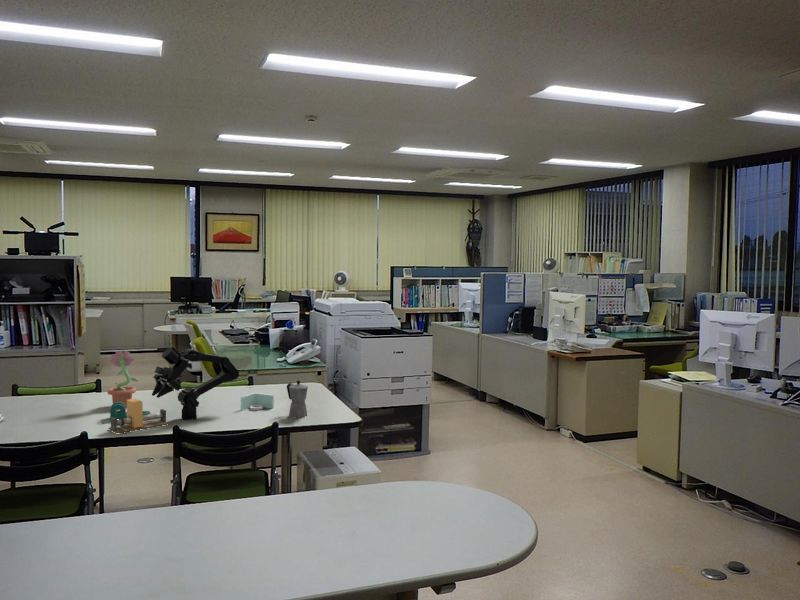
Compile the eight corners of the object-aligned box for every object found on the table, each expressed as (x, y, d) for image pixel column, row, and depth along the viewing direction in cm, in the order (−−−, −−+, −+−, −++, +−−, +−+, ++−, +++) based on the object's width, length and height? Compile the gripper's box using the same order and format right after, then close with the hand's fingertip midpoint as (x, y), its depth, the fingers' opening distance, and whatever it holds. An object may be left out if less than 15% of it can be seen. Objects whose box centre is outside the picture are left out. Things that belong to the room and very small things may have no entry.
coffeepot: (313, 416, 318) (314, 381, 317) (299, 419, 311) (299, 384, 309) (294, 410, 328) (294, 376, 327) (279, 414, 321) (280, 379, 320)
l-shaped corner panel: (240, 411, 327) (240, 397, 327) (255, 406, 338) (255, 392, 338) (259, 414, 322) (259, 399, 322) (273, 409, 333) (273, 395, 332)
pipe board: (159, 420, 304) (159, 407, 304) (169, 425, 297) (169, 411, 297) (108, 430, 287) (108, 416, 287) (116, 434, 280) (116, 420, 280)
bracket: (110, 421, 302) (110, 405, 301) (110, 417, 308) (110, 402, 308) (150, 418, 309) (150, 402, 309) (150, 414, 315) (149, 399, 315)
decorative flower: (139, 402, 338) (139, 347, 336) (137, 409, 325) (136, 351, 323) (109, 404, 334) (108, 348, 332) (105, 410, 321) (105, 352, 318)
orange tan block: (135, 422, 295) (135, 398, 294) (142, 426, 289) (142, 401, 288) (127, 424, 292) (126, 399, 291) (134, 428, 286) (133, 402, 285)
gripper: (157, 357, 305) (134, 382, 299) (174, 362, 292) (151, 389, 285) (172, 371, 312) (151, 396, 305) (190, 377, 298) (168, 403, 292)
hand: (154, 396), depth 296 cm, fingers open, 5 cm apart
